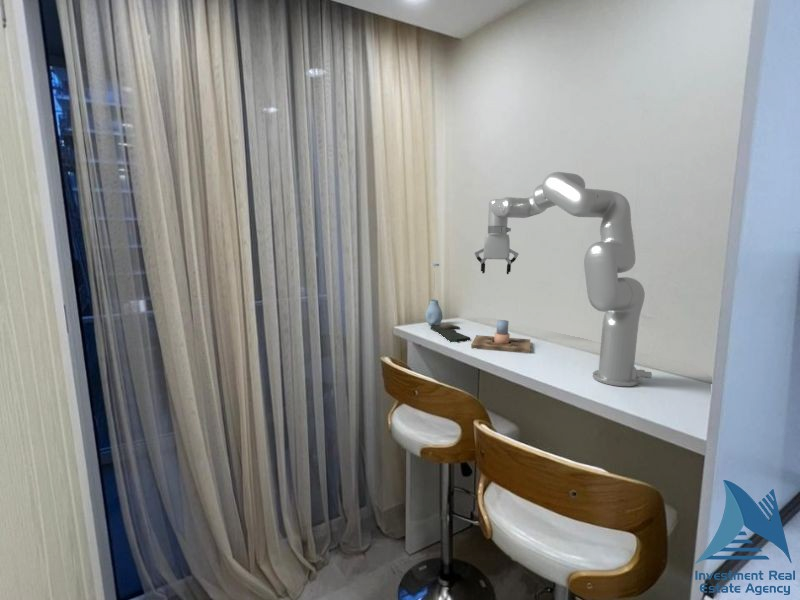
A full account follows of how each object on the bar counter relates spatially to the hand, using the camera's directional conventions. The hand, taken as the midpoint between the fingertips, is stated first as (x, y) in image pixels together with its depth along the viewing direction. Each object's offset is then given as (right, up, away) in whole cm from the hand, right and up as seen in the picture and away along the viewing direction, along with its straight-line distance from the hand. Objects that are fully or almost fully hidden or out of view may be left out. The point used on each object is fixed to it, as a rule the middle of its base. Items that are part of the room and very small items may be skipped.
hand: (495, 273), depth 169 cm
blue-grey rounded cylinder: (+2, -24, -3) cm, 24 cm away
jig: (+2, -29, -2) cm, 29 cm away
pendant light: (-22, -23, +34) cm, 47 cm away
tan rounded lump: (+2, -29, -3) cm, 29 cm away
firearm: (-15, -27, +16) cm, 35 cm away
